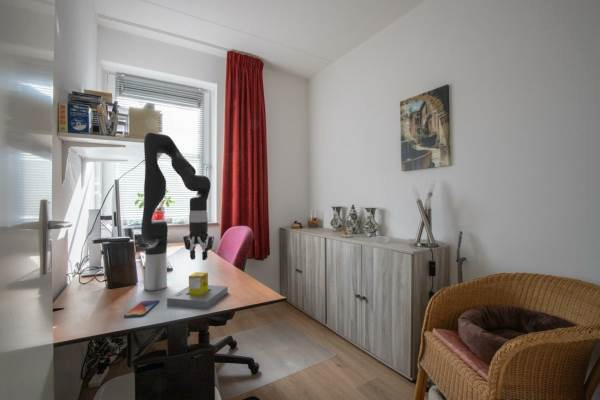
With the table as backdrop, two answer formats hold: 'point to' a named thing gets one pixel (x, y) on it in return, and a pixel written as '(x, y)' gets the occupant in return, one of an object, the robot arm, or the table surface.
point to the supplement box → (198, 284)
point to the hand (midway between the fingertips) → (198, 259)
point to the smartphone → (141, 309)
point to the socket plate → (197, 297)
